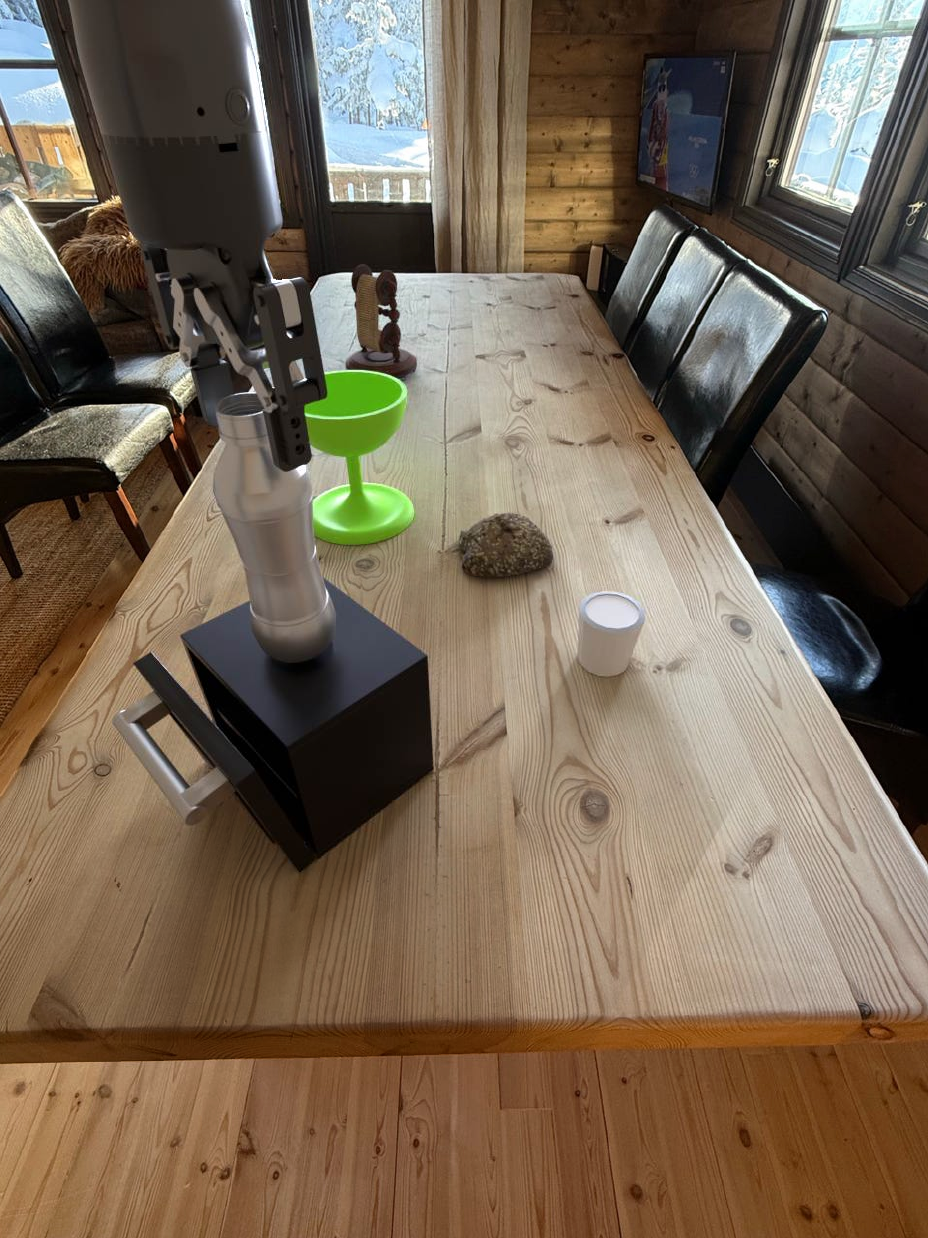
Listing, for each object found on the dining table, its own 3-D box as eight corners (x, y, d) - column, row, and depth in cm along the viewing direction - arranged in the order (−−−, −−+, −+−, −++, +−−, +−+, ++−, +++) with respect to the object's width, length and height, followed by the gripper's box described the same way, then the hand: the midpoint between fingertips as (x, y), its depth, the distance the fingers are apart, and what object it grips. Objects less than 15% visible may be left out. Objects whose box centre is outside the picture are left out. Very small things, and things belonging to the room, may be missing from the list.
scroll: (331, 374, 137) (317, 268, 124) (382, 355, 145) (374, 254, 132) (381, 392, 130) (372, 282, 117) (431, 371, 138) (428, 266, 125)
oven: (318, 859, 55) (286, 747, 45) (223, 749, 64) (179, 634, 54) (434, 770, 62) (427, 655, 52) (333, 681, 70) (312, 568, 61)
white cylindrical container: (611, 690, 69) (621, 642, 65) (559, 659, 73) (565, 611, 68) (646, 657, 73) (658, 609, 69) (595, 629, 77) (603, 581, 72)
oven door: (261, 908, 52) (183, 826, 42) (170, 786, 61) (86, 692, 50) (315, 860, 55) (255, 769, 44) (220, 749, 63) (150, 651, 53)
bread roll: (560, 573, 85) (564, 541, 82) (467, 585, 83) (467, 553, 80) (533, 521, 94) (535, 490, 91) (448, 530, 92) (447, 499, 89)
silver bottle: (330, 610, 56) (288, 376, 43) (349, 662, 51) (308, 417, 38) (253, 628, 54) (185, 391, 41) (265, 684, 50) (192, 435, 37)
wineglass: (437, 509, 97) (433, 389, 85) (358, 559, 87) (341, 431, 76) (361, 476, 104) (348, 361, 93) (281, 518, 95) (254, 396, 83)
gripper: (47, 117, 33) (150, 426, 43) (179, 138, 25) (264, 507, 36) (188, 109, 37) (251, 394, 47) (340, 125, 29) (374, 461, 40)
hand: (256, 442), depth 42 cm, fingers open, 8 cm apart
